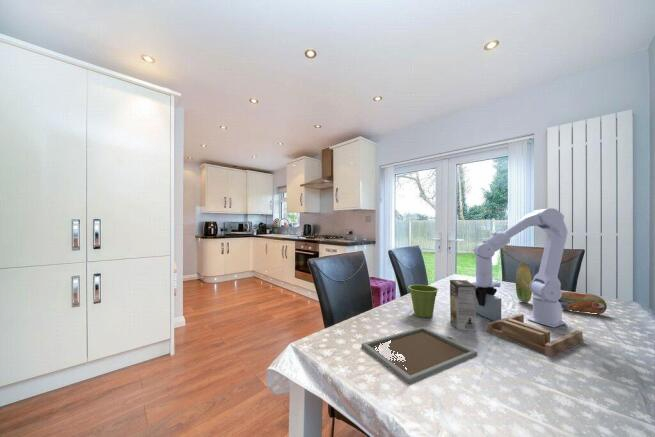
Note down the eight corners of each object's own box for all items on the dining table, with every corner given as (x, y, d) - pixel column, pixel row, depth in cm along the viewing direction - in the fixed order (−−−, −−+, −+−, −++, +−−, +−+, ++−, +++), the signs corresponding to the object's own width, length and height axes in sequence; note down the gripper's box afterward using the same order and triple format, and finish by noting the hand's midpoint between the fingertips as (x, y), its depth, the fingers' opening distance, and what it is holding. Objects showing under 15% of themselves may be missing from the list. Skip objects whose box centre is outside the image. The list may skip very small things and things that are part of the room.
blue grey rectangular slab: (475, 309, 104) (475, 289, 104) (501, 321, 92) (501, 298, 92) (470, 310, 103) (471, 289, 103) (496, 322, 91) (496, 298, 91)
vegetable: (536, 304, 112) (535, 262, 113) (525, 305, 111) (524, 262, 112) (523, 300, 118) (522, 260, 119) (513, 301, 117) (512, 260, 118)
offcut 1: (505, 333, 82) (504, 320, 82) (545, 348, 72) (544, 333, 73) (501, 334, 81) (501, 321, 82) (541, 349, 72) (541, 334, 72)
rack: (520, 321, 92) (519, 313, 92) (582, 341, 77) (582, 331, 77) (486, 331, 83) (486, 323, 83) (550, 356, 67) (550, 346, 67)
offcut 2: (510, 331, 84) (510, 318, 84) (550, 345, 74) (550, 331, 74) (507, 332, 83) (507, 319, 83) (547, 347, 73) (546, 332, 73)
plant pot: (440, 313, 101) (440, 286, 101) (436, 322, 91) (436, 293, 91) (411, 307, 107) (411, 283, 108) (405, 316, 97) (405, 288, 98)
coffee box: (449, 319, 94) (449, 279, 94) (467, 321, 92) (466, 280, 93) (457, 329, 85) (456, 284, 85) (477, 331, 83) (476, 285, 84)
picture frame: (361, 343, 73) (428, 324, 86) (361, 348, 73) (428, 329, 86) (408, 379, 56) (482, 349, 69) (408, 386, 56) (482, 354, 69)
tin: (557, 309, 105) (557, 291, 106) (555, 307, 108) (555, 289, 108) (607, 316, 98) (606, 296, 98) (603, 314, 100) (603, 294, 100)
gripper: (477, 275, 93) (478, 309, 92) (507, 273, 96) (507, 307, 96) (463, 271, 100) (464, 304, 99) (491, 270, 103) (492, 301, 102)
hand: (484, 305), depth 98 cm, fingers closed on blue grey rectangular slab, 2 cm apart
